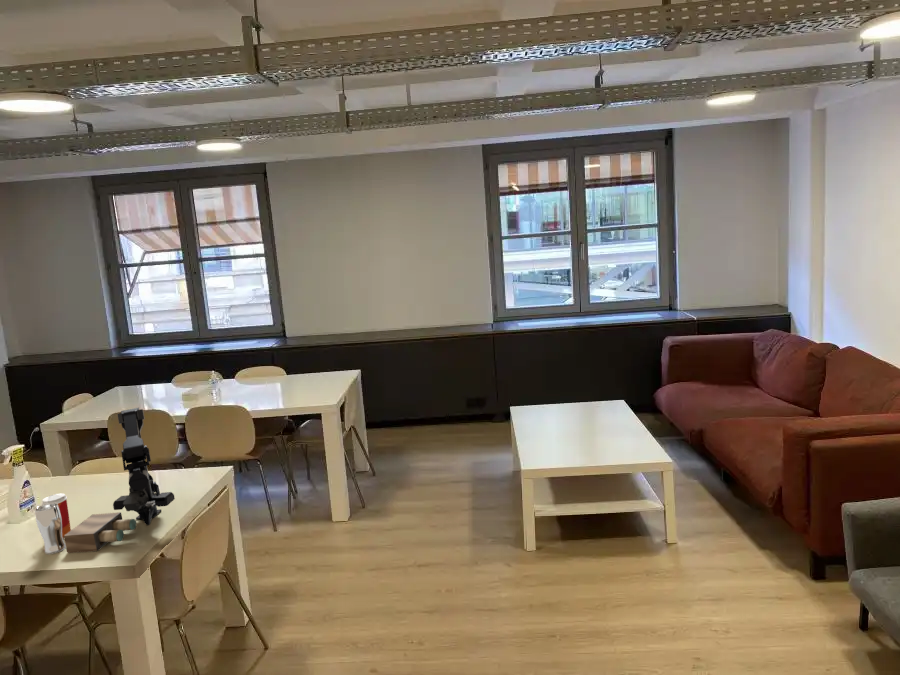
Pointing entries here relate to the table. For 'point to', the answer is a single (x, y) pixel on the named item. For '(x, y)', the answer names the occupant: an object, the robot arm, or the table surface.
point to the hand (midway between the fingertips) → (148, 524)
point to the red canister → (62, 504)
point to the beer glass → (50, 527)
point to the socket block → (90, 533)
